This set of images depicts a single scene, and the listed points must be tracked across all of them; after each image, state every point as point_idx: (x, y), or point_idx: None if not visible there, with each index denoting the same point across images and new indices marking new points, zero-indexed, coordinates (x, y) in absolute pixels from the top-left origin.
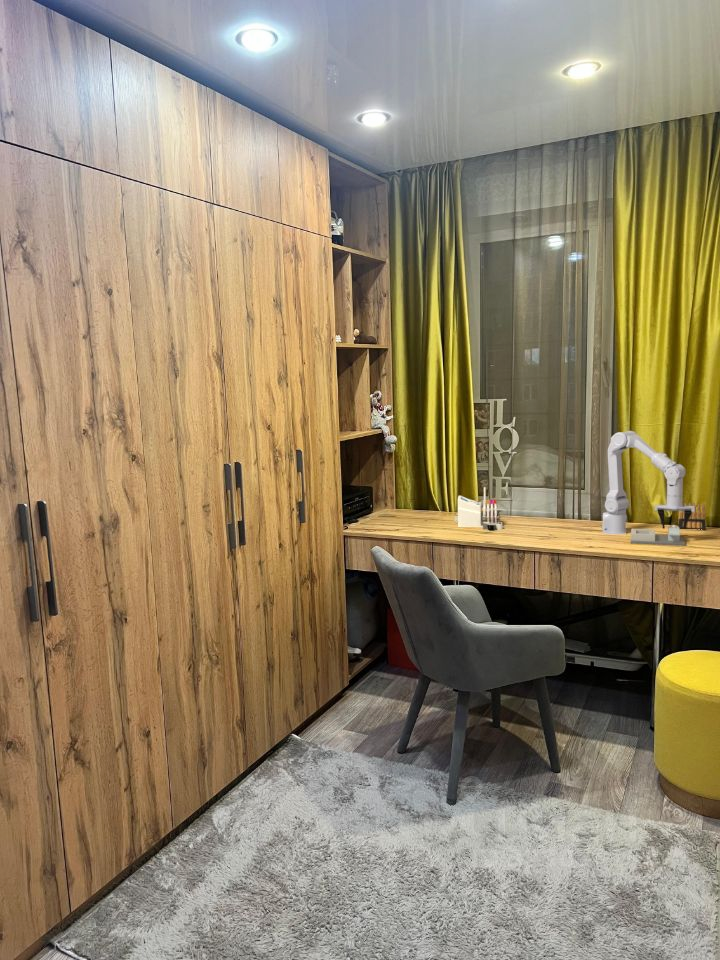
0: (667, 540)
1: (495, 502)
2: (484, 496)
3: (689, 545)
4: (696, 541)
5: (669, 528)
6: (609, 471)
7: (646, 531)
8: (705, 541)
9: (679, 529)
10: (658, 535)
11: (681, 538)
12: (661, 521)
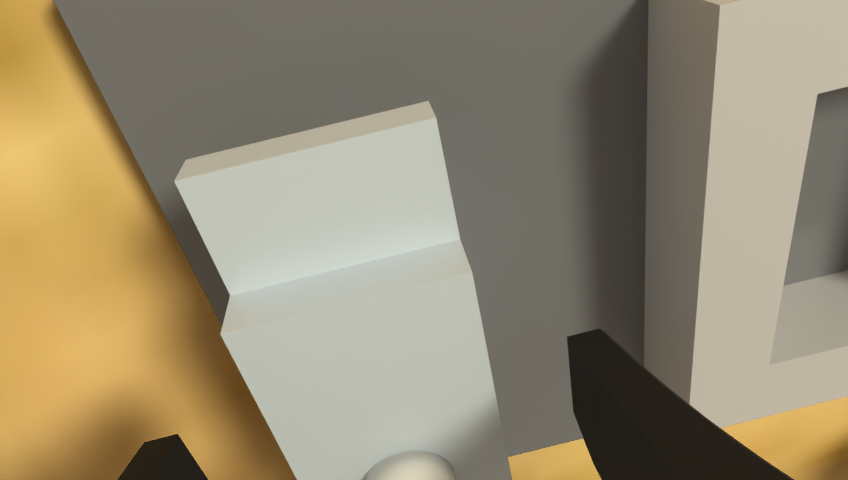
0: (445, 158)
1: None
2: None
3: (62, 123)
4: (103, 395)
5: (467, 360)
6: None
7: (798, 339)
8: (5, 439)
9: (238, 363)
10: None
11: None
12: (737, 441)
